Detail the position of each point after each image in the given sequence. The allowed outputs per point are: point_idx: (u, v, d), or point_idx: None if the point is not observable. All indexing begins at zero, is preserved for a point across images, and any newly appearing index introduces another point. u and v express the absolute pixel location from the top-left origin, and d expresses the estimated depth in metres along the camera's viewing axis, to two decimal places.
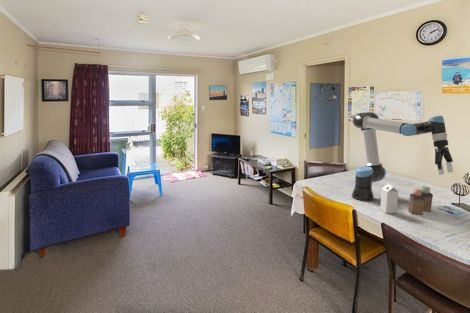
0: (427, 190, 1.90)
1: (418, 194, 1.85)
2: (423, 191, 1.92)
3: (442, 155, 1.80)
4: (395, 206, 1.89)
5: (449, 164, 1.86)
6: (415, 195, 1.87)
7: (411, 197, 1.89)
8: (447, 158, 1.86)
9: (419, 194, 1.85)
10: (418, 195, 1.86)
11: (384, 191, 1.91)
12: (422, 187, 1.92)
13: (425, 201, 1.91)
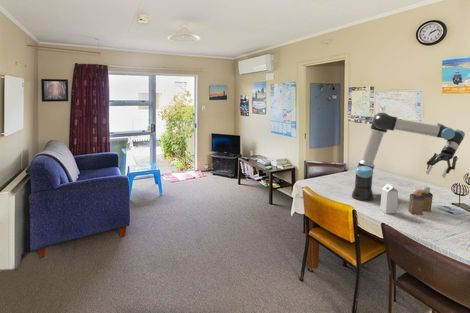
0: (427, 190, 1.90)
1: (418, 194, 1.85)
2: (423, 191, 1.92)
3: None
4: (395, 206, 1.89)
5: (431, 168, 2.00)
6: (415, 195, 1.87)
7: (411, 197, 1.89)
8: (434, 163, 2.01)
9: (419, 194, 1.85)
10: (418, 195, 1.86)
11: (384, 191, 1.91)
12: (422, 187, 1.92)
13: (425, 201, 1.91)
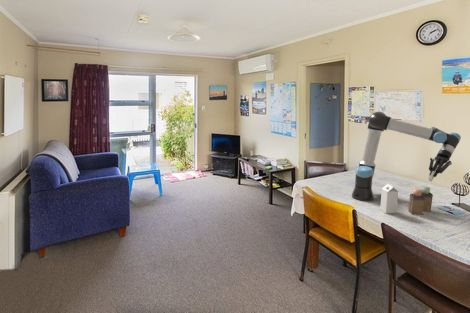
0: (427, 190, 1.90)
1: (418, 194, 1.85)
2: (423, 191, 1.92)
3: None
4: (395, 206, 1.89)
5: None
6: (415, 195, 1.87)
7: (411, 197, 1.89)
8: (435, 168, 1.95)
9: (419, 194, 1.85)
10: (418, 195, 1.86)
11: (384, 191, 1.91)
12: (422, 187, 1.92)
13: (425, 201, 1.91)
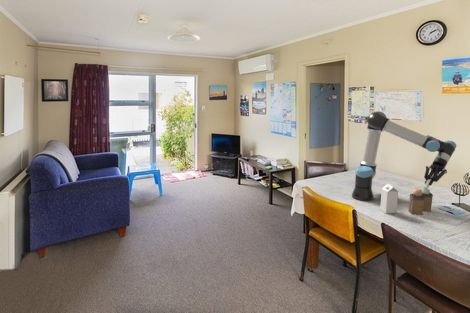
0: (427, 192, 1.90)
1: (418, 194, 1.85)
2: (423, 193, 1.92)
3: None
4: (395, 206, 1.89)
5: None
6: (415, 195, 1.87)
7: (411, 197, 1.89)
8: (431, 176, 1.94)
9: (419, 194, 1.85)
10: (418, 195, 1.86)
11: (384, 191, 1.91)
12: (422, 189, 1.93)
13: (425, 201, 1.91)
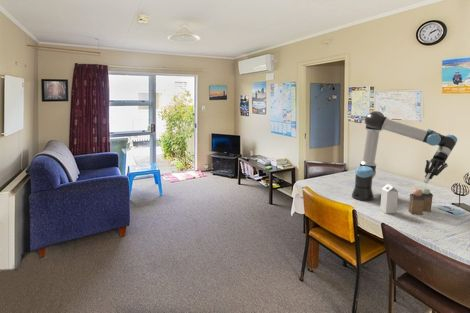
0: (427, 192, 1.90)
1: (418, 194, 1.85)
2: (423, 193, 1.92)
3: None
4: (395, 206, 1.89)
5: None
6: (415, 195, 1.87)
7: (411, 197, 1.89)
8: (431, 170, 1.94)
9: (419, 194, 1.85)
10: (418, 195, 1.86)
11: (384, 191, 1.91)
12: (422, 189, 1.93)
13: (425, 201, 1.91)
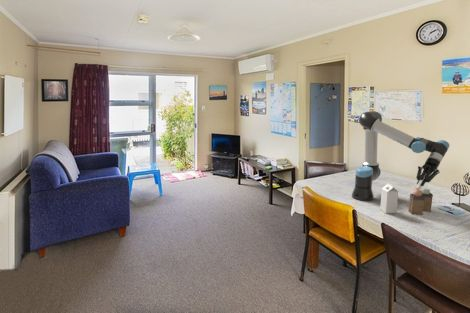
0: (427, 192, 1.90)
1: (418, 195, 1.86)
2: (423, 193, 1.92)
3: None
4: (395, 206, 1.89)
5: None
6: (415, 195, 1.87)
7: (411, 197, 1.89)
8: (423, 176, 1.89)
9: (419, 194, 1.85)
10: (418, 195, 1.86)
11: (384, 191, 1.91)
12: (422, 189, 1.93)
13: (425, 201, 1.91)
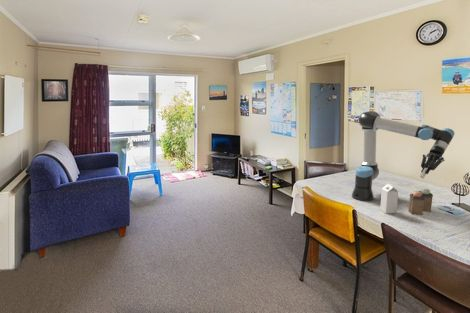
0: (427, 192, 1.90)
1: (417, 196, 1.86)
2: (423, 193, 1.92)
3: None
4: (395, 206, 1.89)
5: None
6: None
7: (411, 197, 1.89)
8: (428, 164, 1.89)
9: (419, 196, 1.86)
10: None
11: (384, 191, 1.91)
12: (422, 189, 1.93)
13: (425, 201, 1.91)
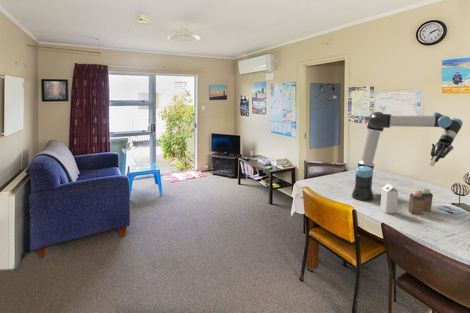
0: (427, 192, 1.90)
1: (417, 196, 1.86)
2: (423, 193, 1.92)
3: None
4: (395, 206, 1.89)
5: None
6: None
7: (411, 197, 1.89)
8: (437, 153, 1.96)
9: (419, 196, 1.86)
10: None
11: (384, 191, 1.91)
12: (422, 189, 1.93)
13: (425, 201, 1.91)
